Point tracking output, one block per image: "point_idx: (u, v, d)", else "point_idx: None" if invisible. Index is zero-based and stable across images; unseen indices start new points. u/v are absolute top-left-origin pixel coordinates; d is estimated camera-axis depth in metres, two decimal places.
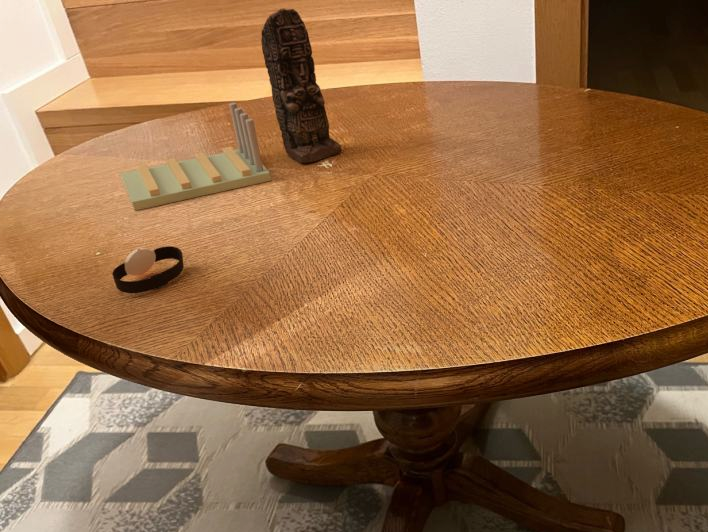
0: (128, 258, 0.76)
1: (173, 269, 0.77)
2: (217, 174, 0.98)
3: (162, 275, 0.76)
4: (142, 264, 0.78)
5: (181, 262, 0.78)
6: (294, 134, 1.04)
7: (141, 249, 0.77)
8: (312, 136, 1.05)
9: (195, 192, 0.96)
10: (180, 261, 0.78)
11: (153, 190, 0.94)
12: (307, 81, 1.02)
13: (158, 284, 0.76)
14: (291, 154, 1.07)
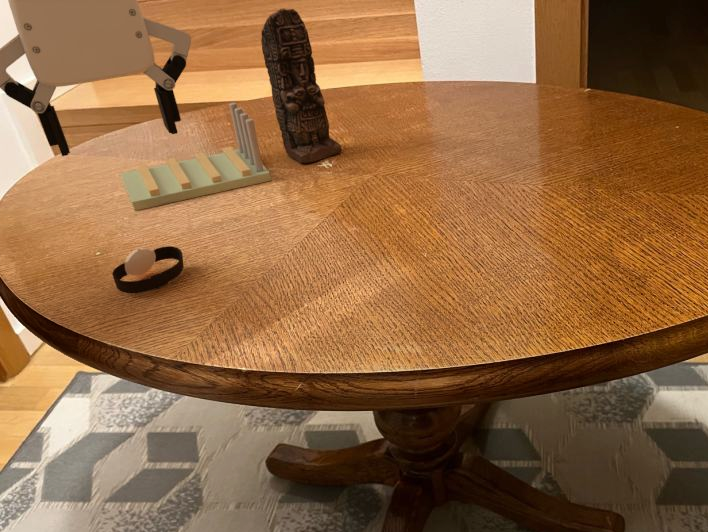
0: (128, 258, 0.76)
1: (173, 269, 0.77)
2: (217, 174, 0.98)
3: (162, 275, 0.76)
4: (142, 264, 0.78)
5: (181, 262, 0.78)
6: (294, 134, 1.04)
7: (141, 249, 0.77)
8: (312, 136, 1.05)
9: (195, 192, 0.96)
10: (180, 261, 0.78)
11: (153, 190, 0.94)
12: (307, 81, 1.02)
13: (158, 284, 0.76)
14: (291, 154, 1.07)
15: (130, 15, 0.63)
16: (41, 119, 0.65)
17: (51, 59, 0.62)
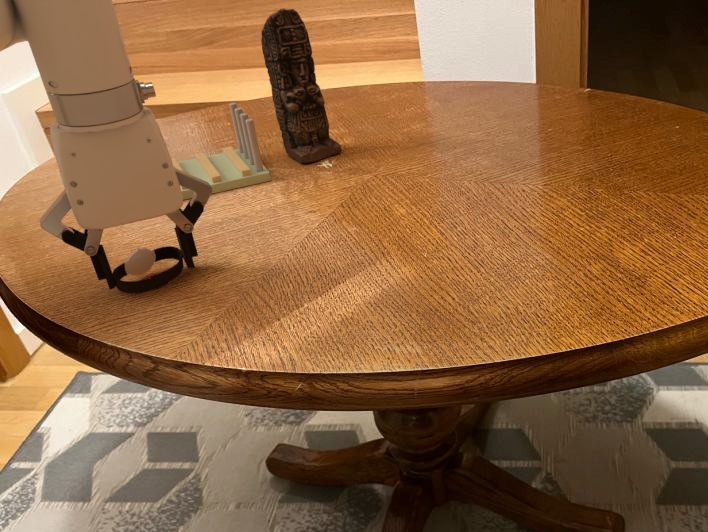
0: (128, 258, 0.76)
1: (173, 269, 0.77)
2: (217, 174, 0.98)
3: (162, 275, 0.76)
4: (142, 264, 0.78)
5: (181, 262, 0.78)
6: (294, 134, 1.04)
7: (141, 249, 0.77)
8: (312, 136, 1.05)
9: None
10: (180, 261, 0.78)
11: None
12: (307, 81, 1.02)
13: (158, 284, 0.76)
14: (291, 154, 1.07)
15: (163, 168, 0.71)
16: (92, 259, 0.73)
17: (93, 209, 0.69)
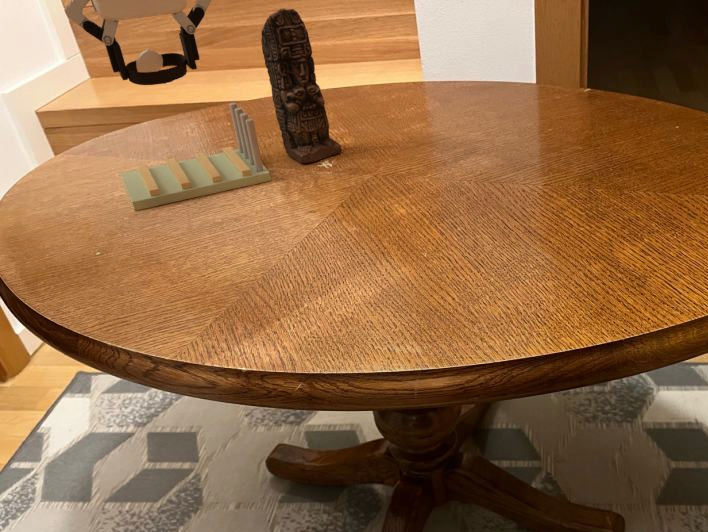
0: (139, 57, 0.88)
1: (178, 68, 0.89)
2: (217, 174, 0.98)
3: (168, 71, 0.88)
4: (151, 65, 0.90)
5: (185, 65, 0.90)
6: (294, 134, 1.04)
7: (150, 50, 0.89)
8: (312, 136, 1.05)
9: (195, 192, 0.96)
10: (184, 63, 0.90)
11: (153, 190, 0.94)
12: (307, 81, 1.02)
13: (165, 79, 0.88)
14: (291, 154, 1.07)
15: None
16: (108, 50, 0.85)
17: None
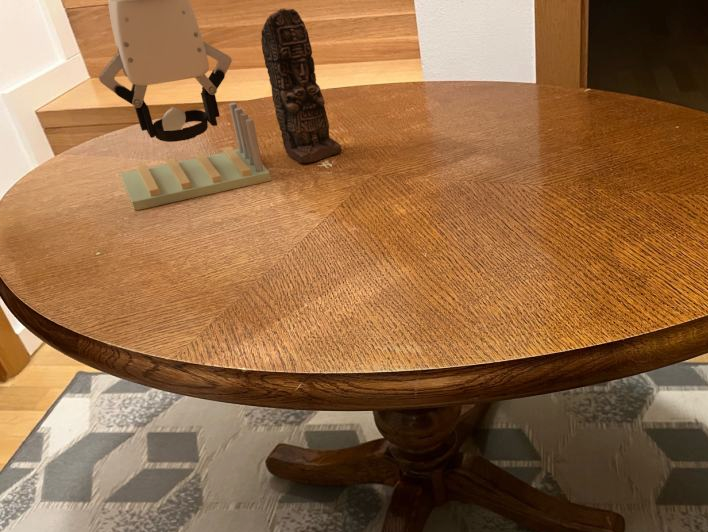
0: (165, 115, 0.96)
1: (200, 125, 0.97)
2: (217, 174, 0.98)
3: (192, 128, 0.96)
4: (175, 122, 0.98)
5: (206, 121, 0.98)
6: (294, 134, 1.04)
7: (175, 109, 0.97)
8: (312, 136, 1.05)
9: (195, 192, 0.96)
10: (205, 120, 0.98)
11: (153, 190, 0.94)
12: (307, 81, 1.02)
13: (188, 136, 0.96)
14: (291, 154, 1.07)
15: (194, 36, 0.91)
16: (138, 111, 0.93)
17: (140, 66, 0.90)
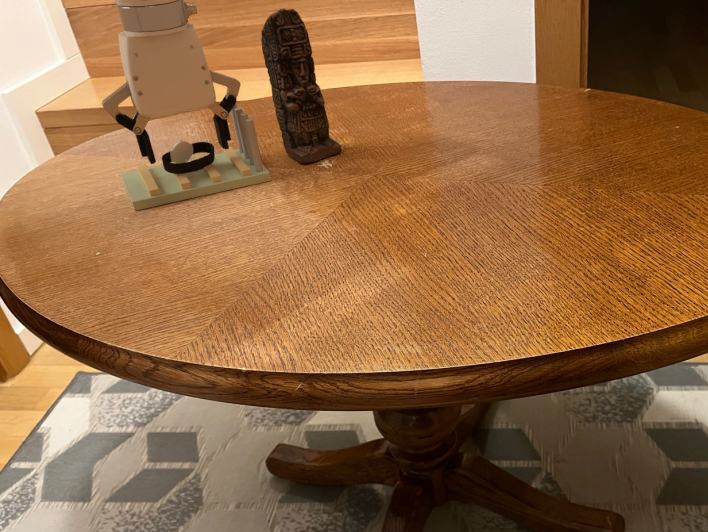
0: (173, 148, 0.99)
1: (207, 157, 0.99)
2: (217, 174, 0.98)
3: (199, 160, 0.98)
4: (183, 154, 1.00)
5: (213, 153, 1.01)
6: (294, 134, 1.04)
7: (183, 141, 0.99)
8: (312, 136, 1.05)
9: (195, 192, 0.96)
10: (212, 152, 1.00)
11: (153, 190, 0.94)
12: (307, 81, 1.02)
13: (196, 168, 0.99)
14: (291, 154, 1.07)
15: (202, 69, 0.93)
16: (138, 139, 0.95)
17: (149, 99, 0.92)
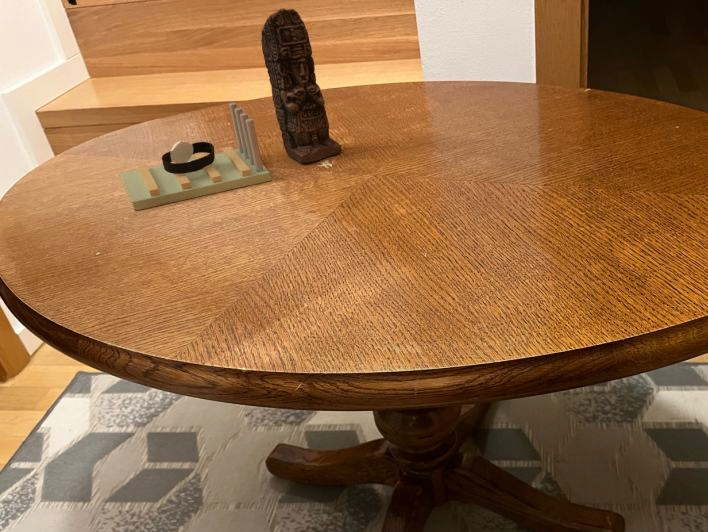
0: (173, 148, 0.99)
1: (207, 157, 0.99)
2: (217, 174, 0.98)
3: (199, 160, 0.98)
4: (183, 154, 1.00)
5: (213, 153, 1.01)
6: (294, 134, 1.04)
7: (183, 141, 0.99)
8: (312, 136, 1.05)
9: (195, 192, 0.96)
10: (212, 152, 1.00)
11: (153, 190, 0.94)
12: (307, 81, 1.02)
13: (196, 168, 0.99)
14: (291, 154, 1.07)
15: None
16: None
17: None
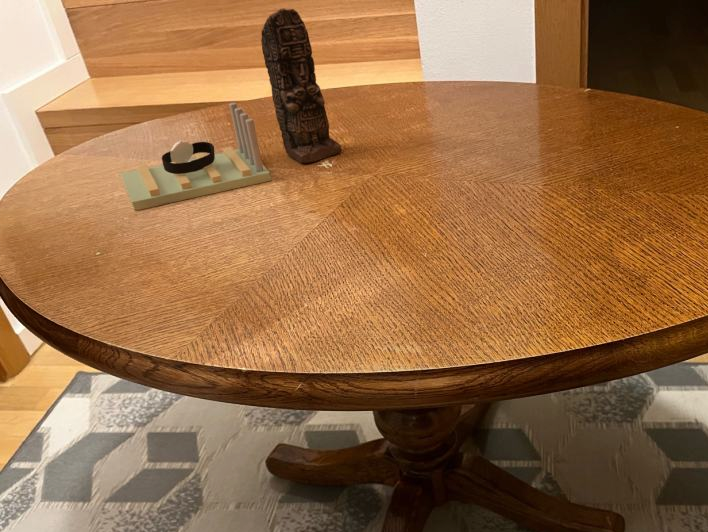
0: (173, 148, 0.99)
1: (207, 157, 0.99)
2: (217, 174, 0.98)
3: (199, 160, 0.98)
4: (183, 154, 1.00)
5: (213, 153, 1.01)
6: (294, 134, 1.04)
7: (183, 141, 0.99)
8: (312, 136, 1.05)
9: (195, 192, 0.96)
10: (212, 152, 1.00)
11: (153, 190, 0.94)
12: (307, 81, 1.02)
13: (196, 168, 0.99)
14: (291, 154, 1.07)
15: None
16: None
17: None
